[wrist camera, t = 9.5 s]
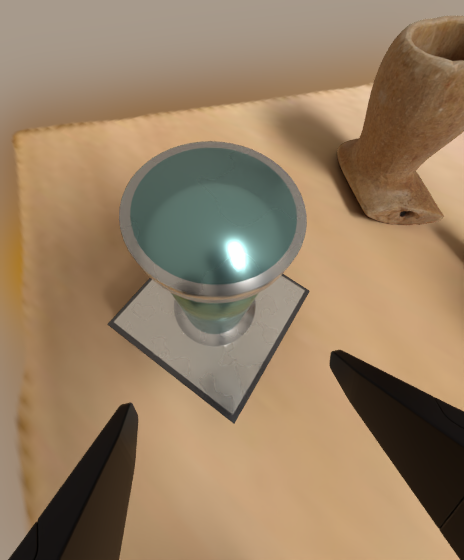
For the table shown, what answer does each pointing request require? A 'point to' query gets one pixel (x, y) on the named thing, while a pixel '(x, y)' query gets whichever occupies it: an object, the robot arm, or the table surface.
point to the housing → (213, 232)
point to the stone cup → (408, 122)
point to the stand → (204, 359)
